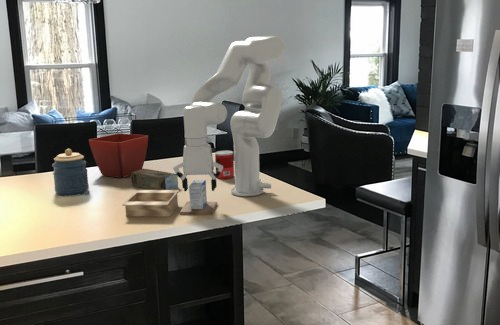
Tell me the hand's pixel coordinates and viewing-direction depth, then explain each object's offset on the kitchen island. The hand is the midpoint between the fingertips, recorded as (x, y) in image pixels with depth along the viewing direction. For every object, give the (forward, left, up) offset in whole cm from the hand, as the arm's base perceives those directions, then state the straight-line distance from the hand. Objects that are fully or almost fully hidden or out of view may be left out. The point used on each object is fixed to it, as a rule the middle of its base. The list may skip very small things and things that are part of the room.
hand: (199, 190), depth 188 cm
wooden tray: (+16, +3, -7) cm, 18 cm away
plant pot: (+45, -52, -7) cm, 70 cm away
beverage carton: (+24, -30, -7) cm, 39 cm away
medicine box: (+1, 0, -6) cm, 6 cm away
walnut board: (0, +1, -7) cm, 7 cm away
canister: (+55, -21, -7) cm, 60 cm away
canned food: (-3, -46, -7) cm, 47 cm away
